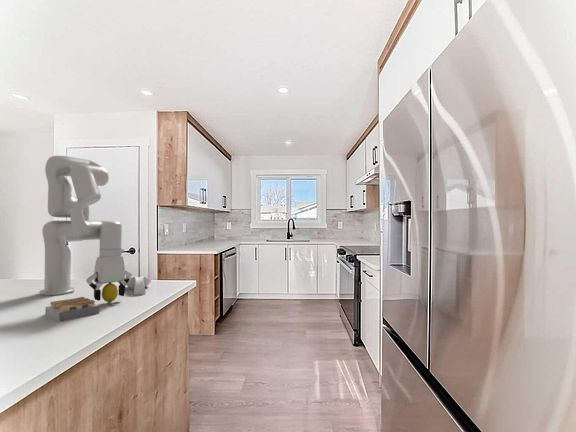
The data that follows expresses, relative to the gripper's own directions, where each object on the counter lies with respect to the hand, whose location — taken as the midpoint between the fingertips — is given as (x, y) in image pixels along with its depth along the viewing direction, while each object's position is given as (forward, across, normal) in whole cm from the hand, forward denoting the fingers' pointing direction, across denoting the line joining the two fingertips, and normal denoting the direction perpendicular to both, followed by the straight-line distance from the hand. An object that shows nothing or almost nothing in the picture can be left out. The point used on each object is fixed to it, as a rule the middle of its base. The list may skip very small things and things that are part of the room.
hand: (109, 297), depth 131 cm
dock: (+2, +15, +5) cm, 16 cm away
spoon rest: (+3, -20, -14) cm, 25 cm away
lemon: (+2, 0, 0) cm, 2 cm away
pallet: (0, +15, +5) cm, 16 cm away
